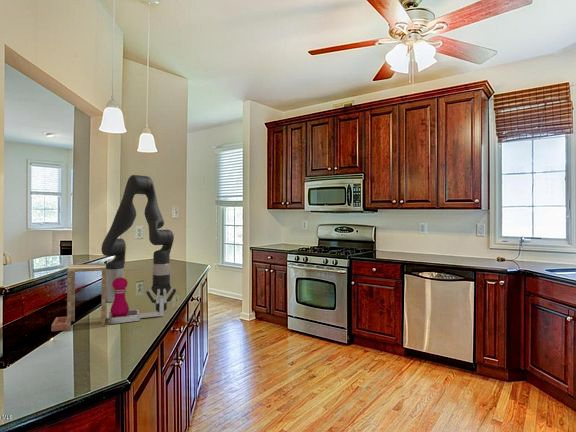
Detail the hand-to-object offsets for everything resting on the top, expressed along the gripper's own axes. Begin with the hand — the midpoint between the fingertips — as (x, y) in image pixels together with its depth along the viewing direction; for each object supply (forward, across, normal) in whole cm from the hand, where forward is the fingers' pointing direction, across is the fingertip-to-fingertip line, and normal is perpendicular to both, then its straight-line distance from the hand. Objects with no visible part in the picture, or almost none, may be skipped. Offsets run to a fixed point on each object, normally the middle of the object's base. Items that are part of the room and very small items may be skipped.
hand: (161, 311), depth 163 cm
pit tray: (+2, +39, 0) cm, 39 cm away
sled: (+2, +10, 0) cm, 10 cm away
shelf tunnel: (+2, +29, 0) cm, 29 cm away
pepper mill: (+2, +17, 0) cm, 17 cm away
